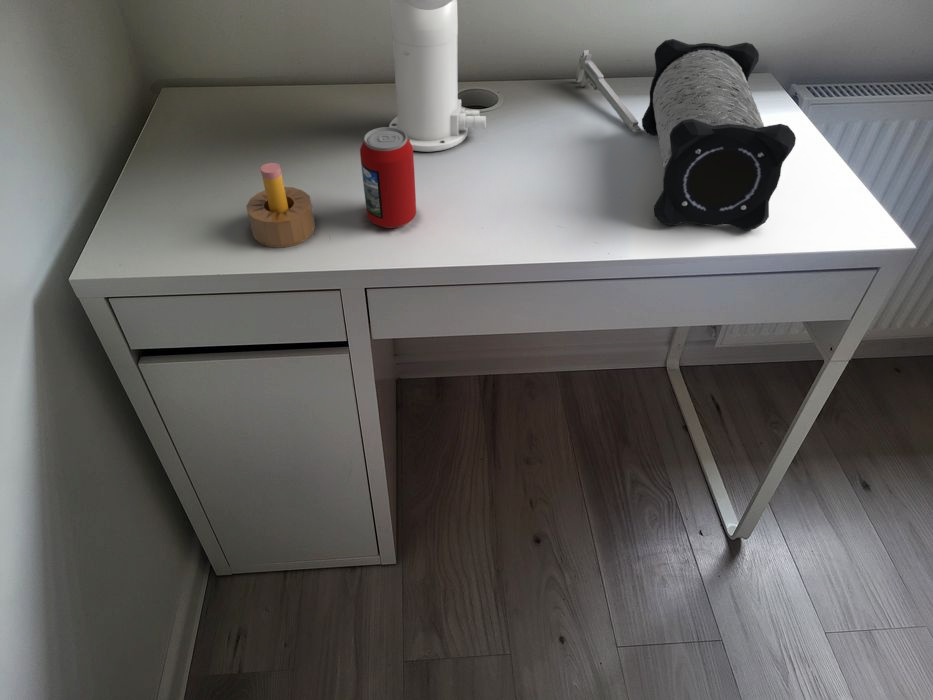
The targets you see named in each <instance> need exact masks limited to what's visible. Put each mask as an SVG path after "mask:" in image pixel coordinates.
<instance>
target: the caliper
mask: <svg viewBox="0 0 933 700" xmlns="http://www.w3.org/2000/svg"><path fill="white" fill-rule="evenodd" d="M592 56H593V54H592V53H590V50H589V49H585V50H583V52H582V54H580V55H579V59H578V61H577V67H576V76H575V80H576V83H580V88H584V87H587V86H588V84H590V86H591V87H593V90H594V91H597V90H598V91H599V92H600V93H601V94H602V96H603V97H604V98H605V100H606V101H607V102H608V103H609V104H610V106H611V107H612V108H613V110H614V111H615V112H616V113H617V115H618V116H619V118H620V119H621V120H622V121H623V123H624V124H625V125H626V127H627V128H628V129H629V131H633V132H634V133H635V134H637V133H641V132H642V128H641V127H640V125H639V121H638V120H637V119H636V117H635V115H633V113H632V112H631V111H630V109H628V107H627V106H626V104H624V102H623V100H621V99H620V97H619V96H618V95H617V93H616V92H615V91H614V90H613V89H612V87H611V86H610V85H609V83H607V81H606V80H605V78H604V77H605V76H604V75H603V73H602V72H601V70H600V69H599V68H598V67H597V65H596V64H595V62H594V61H593V60H591V59H592Z"/></svg>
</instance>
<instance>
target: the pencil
mask: <svg viewBox="0 0 933 700" xmlns="http://www.w3.org/2000/svg"><path fill="white" fill-rule="evenodd" d="M281 169H282V168H281V166H280V164H278V163H275V162H268V163H264V164H263V165H262V166H261V167H260V173H261V178H262V181H263V187H264V191H266V196H267V200H268V204H269V209H270V212H277V213H278V212H284V211H286V210H289V208H288V203H287V198H286V193H285V188H284V187H285V183H284V179H283V175H282V170H281Z"/></svg>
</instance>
